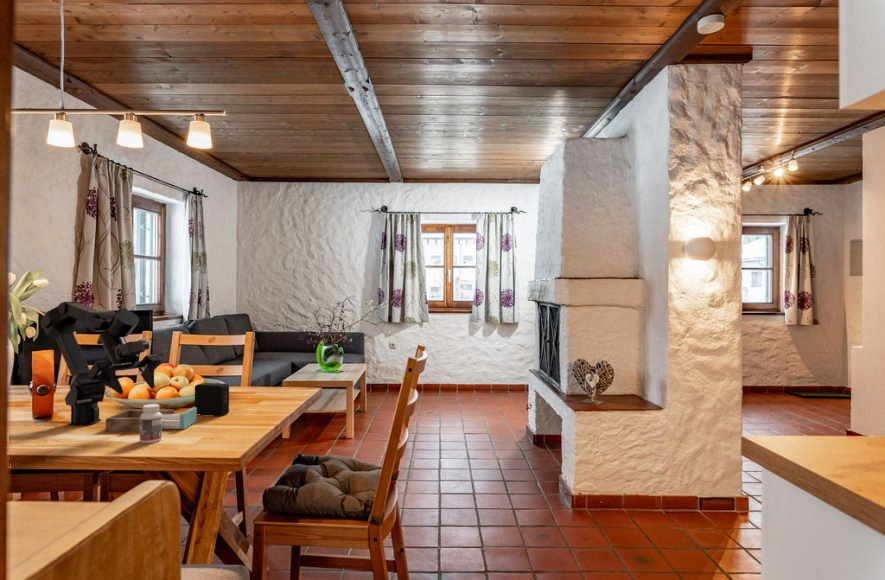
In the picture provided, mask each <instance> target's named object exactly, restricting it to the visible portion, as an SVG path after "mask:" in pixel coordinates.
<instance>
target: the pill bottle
mask: <svg viewBox="0 0 885 580" xmlns="http://www.w3.org/2000/svg"><path fill="white" fill-rule="evenodd" d="M142 410H143V412H144V413H143V414H141V416H140V431H139V442H140V443H141V444H154V443H157V441H158V442H160V441H161V440H162V439H163V437H162V434H163V429H162V414H161V413H160V412H158V411H159V410H160V404H158V403H151V404H144V405H143V406H142Z"/></svg>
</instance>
